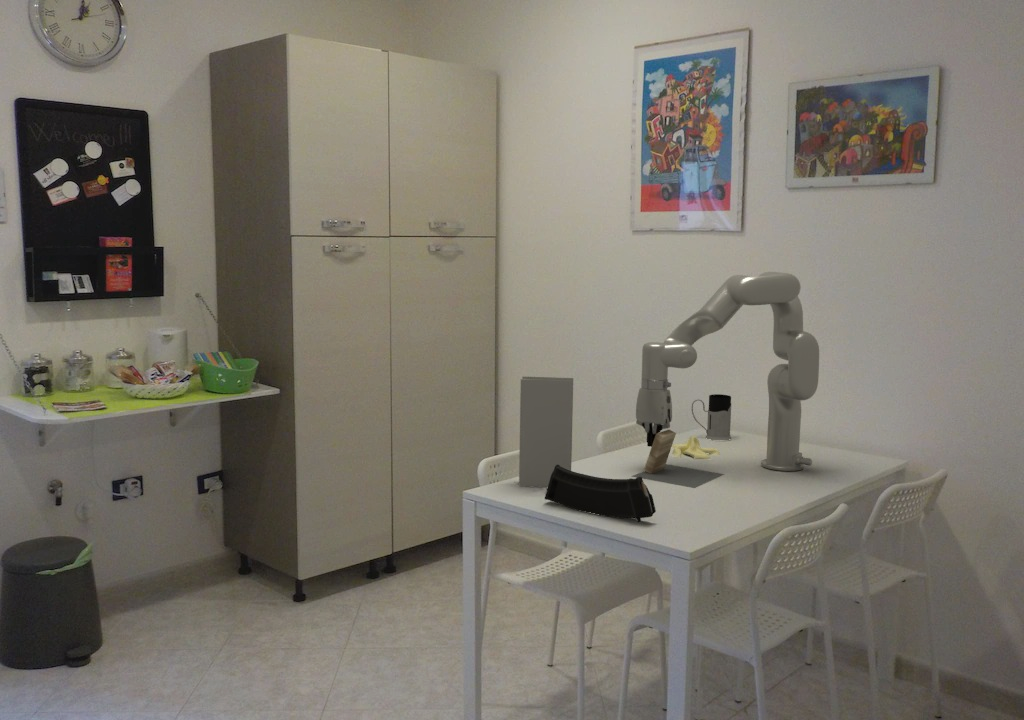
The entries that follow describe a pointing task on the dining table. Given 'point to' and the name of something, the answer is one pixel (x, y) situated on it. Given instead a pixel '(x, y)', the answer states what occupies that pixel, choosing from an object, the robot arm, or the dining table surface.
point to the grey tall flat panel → (544, 428)
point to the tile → (660, 451)
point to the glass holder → (717, 417)
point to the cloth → (693, 449)
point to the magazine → (600, 494)
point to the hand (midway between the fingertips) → (652, 445)
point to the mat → (680, 476)
